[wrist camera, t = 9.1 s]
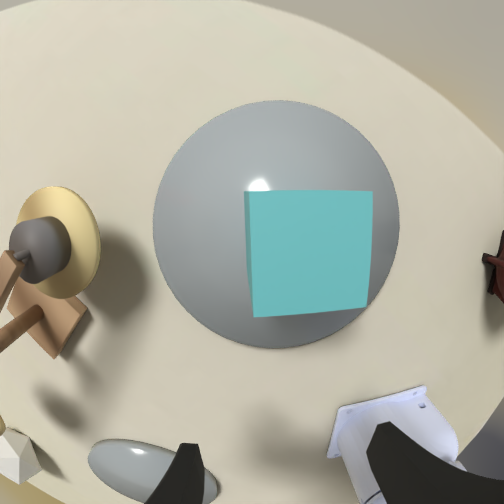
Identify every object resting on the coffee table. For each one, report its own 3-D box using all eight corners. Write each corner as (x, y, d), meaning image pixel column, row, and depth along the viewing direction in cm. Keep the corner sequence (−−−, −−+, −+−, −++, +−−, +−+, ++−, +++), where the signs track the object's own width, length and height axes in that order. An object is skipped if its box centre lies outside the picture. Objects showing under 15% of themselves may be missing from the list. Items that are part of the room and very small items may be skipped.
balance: (84, 167, 15) (-68, 161, 3) (145, 227, 16) (5, 297, 4) (0, 349, 18) (-65, 411, 6) (40, 390, 19) (-16, 467, 7)
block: (323, 189, 15) (372, 191, 9) (323, 267, 16) (366, 307, 10) (243, 191, 15) (248, 191, 9) (246, 271, 16) (253, 317, 10)
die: (18, 444, 22) (31, 496, 16) (-24, 423, 16) (-17, 480, 10) (41, 428, 25) (57, 485, 18) (-4, 405, 19) (4, 468, 12)
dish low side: (387, 117, 15) (395, 113, 14) (379, 326, 19) (387, 334, 18) (155, 113, 15) (149, 108, 14) (172, 342, 18) (169, 351, 17)
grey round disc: (207, 446, 21) (206, 456, 20) (223, 505, 24) (223, 512, 23) (71, 427, 20) (67, 434, 19) (116, 492, 23) (115, 498, 22)
